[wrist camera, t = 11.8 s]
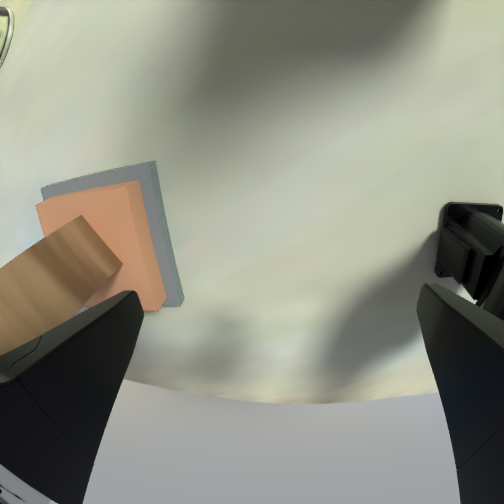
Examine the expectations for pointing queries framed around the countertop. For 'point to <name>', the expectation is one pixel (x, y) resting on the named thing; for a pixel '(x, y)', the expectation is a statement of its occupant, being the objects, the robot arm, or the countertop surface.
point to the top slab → (113, 237)
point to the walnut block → (52, 282)
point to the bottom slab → (153, 212)
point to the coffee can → (5, 30)
